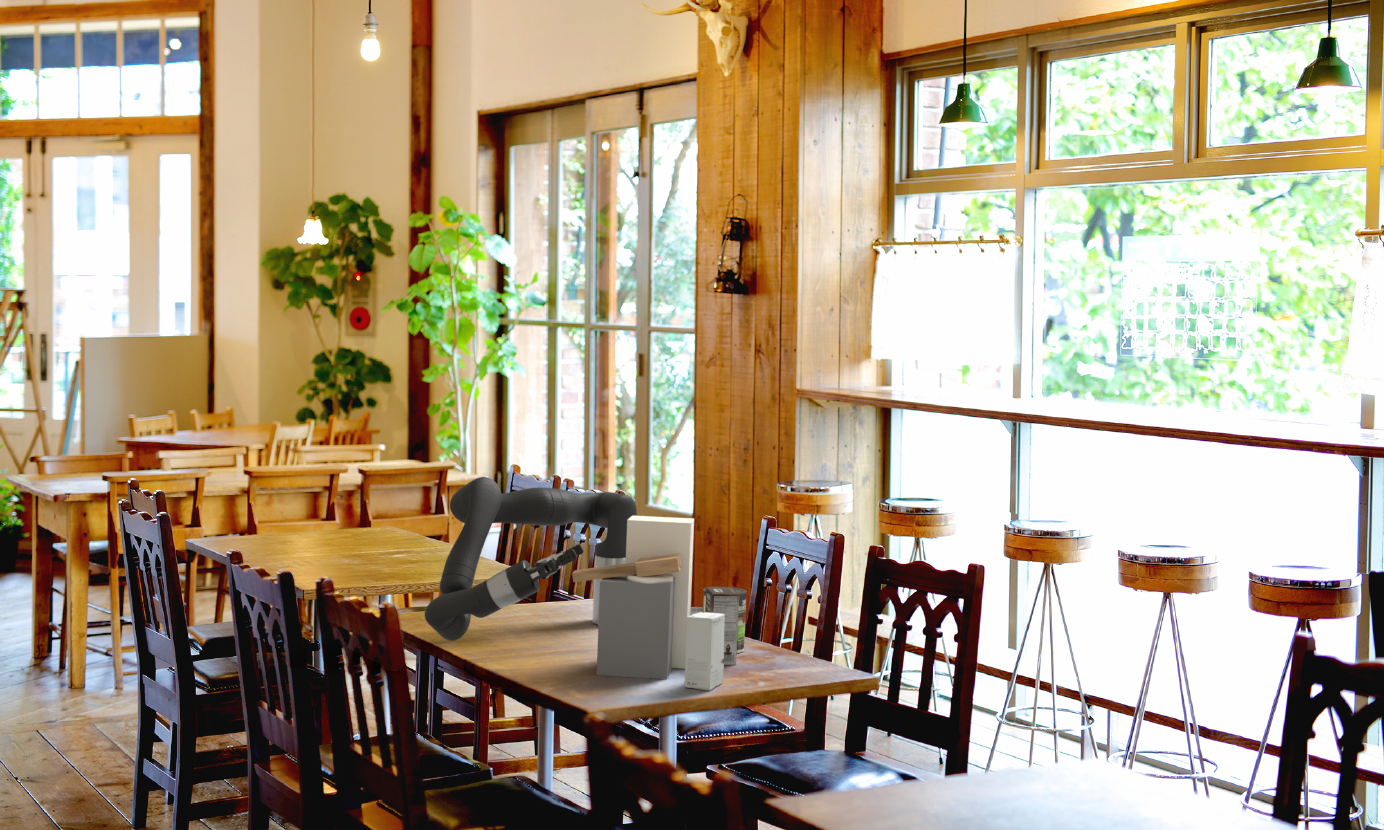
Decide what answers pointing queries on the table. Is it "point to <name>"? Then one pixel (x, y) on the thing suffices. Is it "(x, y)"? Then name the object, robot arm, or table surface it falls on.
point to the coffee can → (741, 617)
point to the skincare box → (704, 650)
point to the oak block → (632, 568)
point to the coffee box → (728, 604)
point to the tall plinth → (660, 540)
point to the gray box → (636, 626)
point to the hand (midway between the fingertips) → (578, 550)
